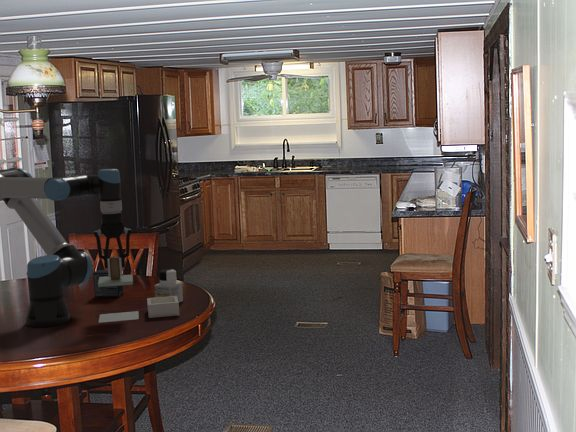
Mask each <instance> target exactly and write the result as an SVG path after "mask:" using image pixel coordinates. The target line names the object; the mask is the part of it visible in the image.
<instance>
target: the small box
mask: <svg viewBox="0 0 576 432" xmlns="http://www.w3.org/2000/svg"><path fill="white" fill-rule="evenodd" d="M92 275H93V276H92V277H93V292H94V298H95V299H97V298H98V299H100V298H101V299H102V298H105V299H106V298H120V297H121V296H122V295H124V293H125V292H124V285H120V286H106V287H98V281H99V277H105V276H108V269H105V270H104V269H102V270H101V269H100V270H99V269H98V270H96V271H94V272H92Z"/></svg>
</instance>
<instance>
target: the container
mask: <svg viewBox="0 0 576 432" xmlns="http://www.w3.org/2000/svg"><path fill="white" fill-rule="evenodd" d="M158 279H159V283H157V284H154V294H155V295H154V298H156V297H167V296H177V298H178V302H179V304H180V303H182V302H183V301H184V297H183V295H184V293H183V283H182V282H181V281H178V279H177V271H176V270H175V269H172V268H166V269H161V270H160V271H159V272H158Z"/></svg>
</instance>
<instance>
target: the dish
mask: <svg viewBox="0 0 576 432" xmlns="http://www.w3.org/2000/svg"><path fill="white" fill-rule="evenodd" d="M146 301H147V314H148V316H147V317H148V318H149V319H151V318H163V317H172V316H173V317H174V316H178V317H179V316H180V303H179V302H178V298H177V296H167V297H156V298H155V297H147V298H146Z"/></svg>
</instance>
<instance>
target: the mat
mask: <svg viewBox="0 0 576 432" xmlns="http://www.w3.org/2000/svg"><path fill="white" fill-rule="evenodd" d="M139 315H140V314H139V310H136V311H126V312H125V311H124V312H112V313H111V312H110V313H102V314H99V318H98V323H101V324H102V323H111V322H112V323H113V322H123V321H134V320H139V319H140V317H139Z"/></svg>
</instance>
